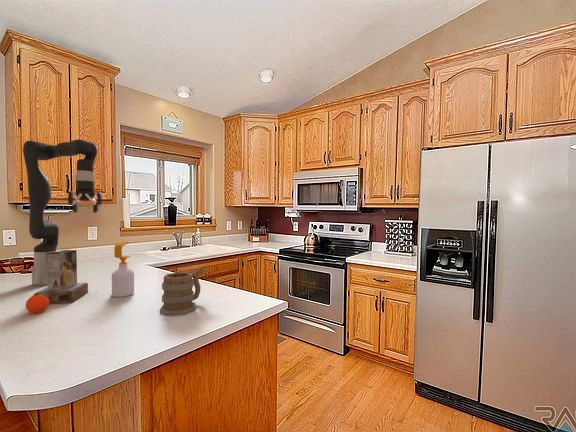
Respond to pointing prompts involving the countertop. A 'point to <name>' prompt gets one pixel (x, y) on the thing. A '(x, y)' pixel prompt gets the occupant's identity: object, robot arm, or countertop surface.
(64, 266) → the coffee box
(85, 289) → the dock
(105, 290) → the countertop surface
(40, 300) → the clementine
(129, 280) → the soap bottle
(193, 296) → the tankard
